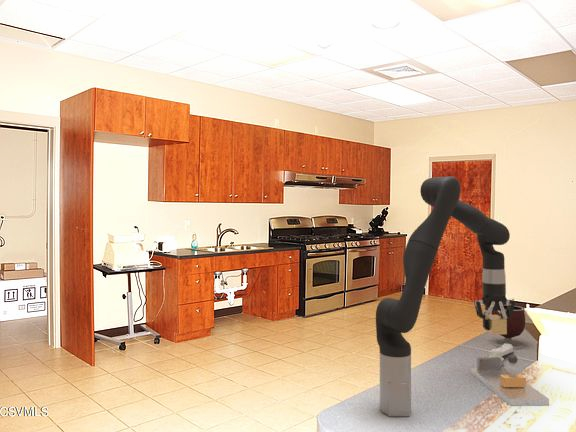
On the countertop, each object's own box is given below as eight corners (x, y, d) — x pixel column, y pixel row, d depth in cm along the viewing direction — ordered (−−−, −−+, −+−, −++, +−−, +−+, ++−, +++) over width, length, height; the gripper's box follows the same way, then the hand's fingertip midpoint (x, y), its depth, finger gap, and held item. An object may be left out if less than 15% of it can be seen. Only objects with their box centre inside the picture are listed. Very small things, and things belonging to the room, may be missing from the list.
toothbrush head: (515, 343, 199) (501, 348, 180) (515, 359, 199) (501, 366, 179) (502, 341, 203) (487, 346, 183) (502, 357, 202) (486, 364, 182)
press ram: (525, 387, 153) (525, 355, 153) (504, 387, 153) (504, 355, 153) (521, 383, 156) (520, 353, 156) (500, 383, 156) (499, 353, 156)
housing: (506, 334, 161) (506, 319, 161) (492, 334, 161) (491, 320, 161) (497, 328, 169) (496, 314, 169) (483, 328, 169) (482, 314, 169)
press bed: (549, 405, 144) (548, 385, 144) (510, 405, 144) (510, 385, 144) (503, 372, 174) (503, 356, 174) (470, 372, 174) (470, 356, 174)
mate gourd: (520, 351, 200) (520, 305, 200) (487, 346, 209) (486, 301, 210) (530, 344, 212) (529, 300, 212) (497, 339, 221) (497, 296, 221)
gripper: (478, 283, 161) (479, 332, 161) (519, 282, 161) (520, 331, 161) (469, 280, 168) (470, 327, 168) (508, 279, 169) (509, 326, 169)
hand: (494, 329), depth 165 cm, fingers closed on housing, 5 cm apart
